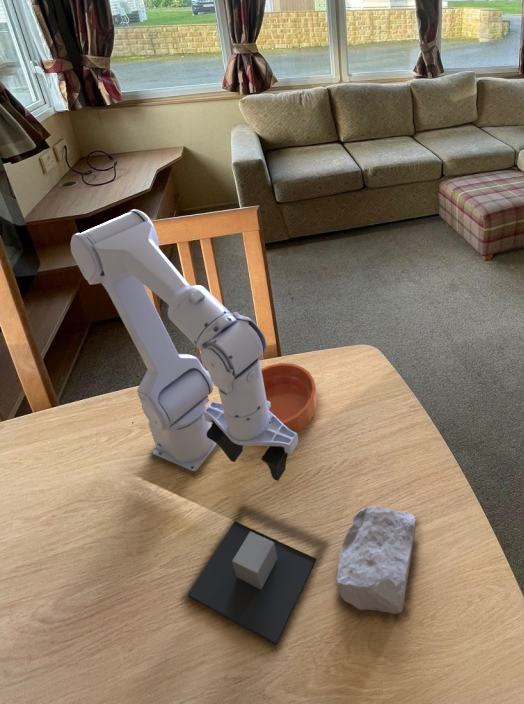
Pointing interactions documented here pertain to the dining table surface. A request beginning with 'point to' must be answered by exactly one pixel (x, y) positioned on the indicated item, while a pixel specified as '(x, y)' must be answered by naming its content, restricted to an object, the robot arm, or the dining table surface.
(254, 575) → the block
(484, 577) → the dining table surface
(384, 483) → the dining table surface
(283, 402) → the bowl
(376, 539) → the stone block
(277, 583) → the mat
